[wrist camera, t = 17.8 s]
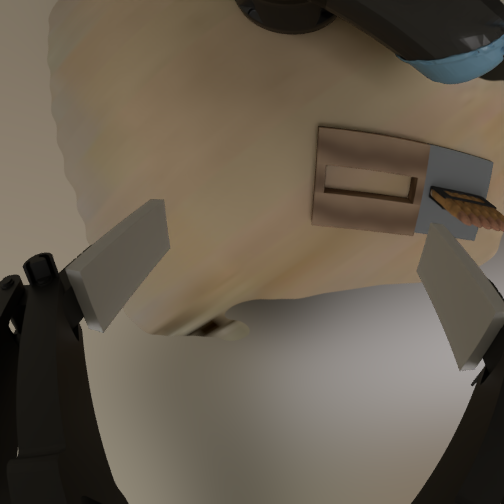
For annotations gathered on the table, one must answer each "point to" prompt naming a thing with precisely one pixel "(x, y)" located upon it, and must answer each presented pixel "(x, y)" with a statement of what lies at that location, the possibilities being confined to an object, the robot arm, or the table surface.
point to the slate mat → (452, 188)
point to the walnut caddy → (377, 159)
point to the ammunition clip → (468, 208)
